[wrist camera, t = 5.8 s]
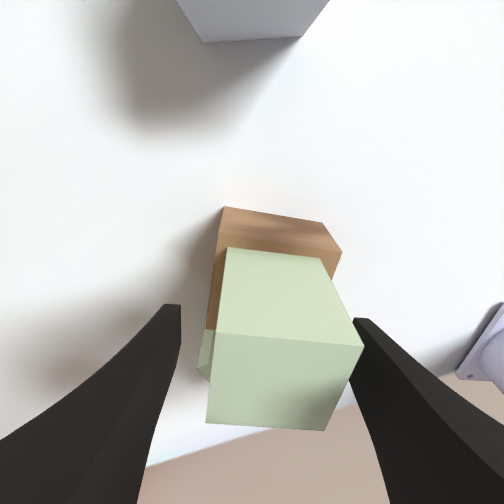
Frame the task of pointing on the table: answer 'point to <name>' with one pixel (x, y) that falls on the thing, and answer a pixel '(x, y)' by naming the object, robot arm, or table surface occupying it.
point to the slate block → (250, 18)
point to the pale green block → (206, 352)
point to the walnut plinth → (267, 244)
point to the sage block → (279, 343)
